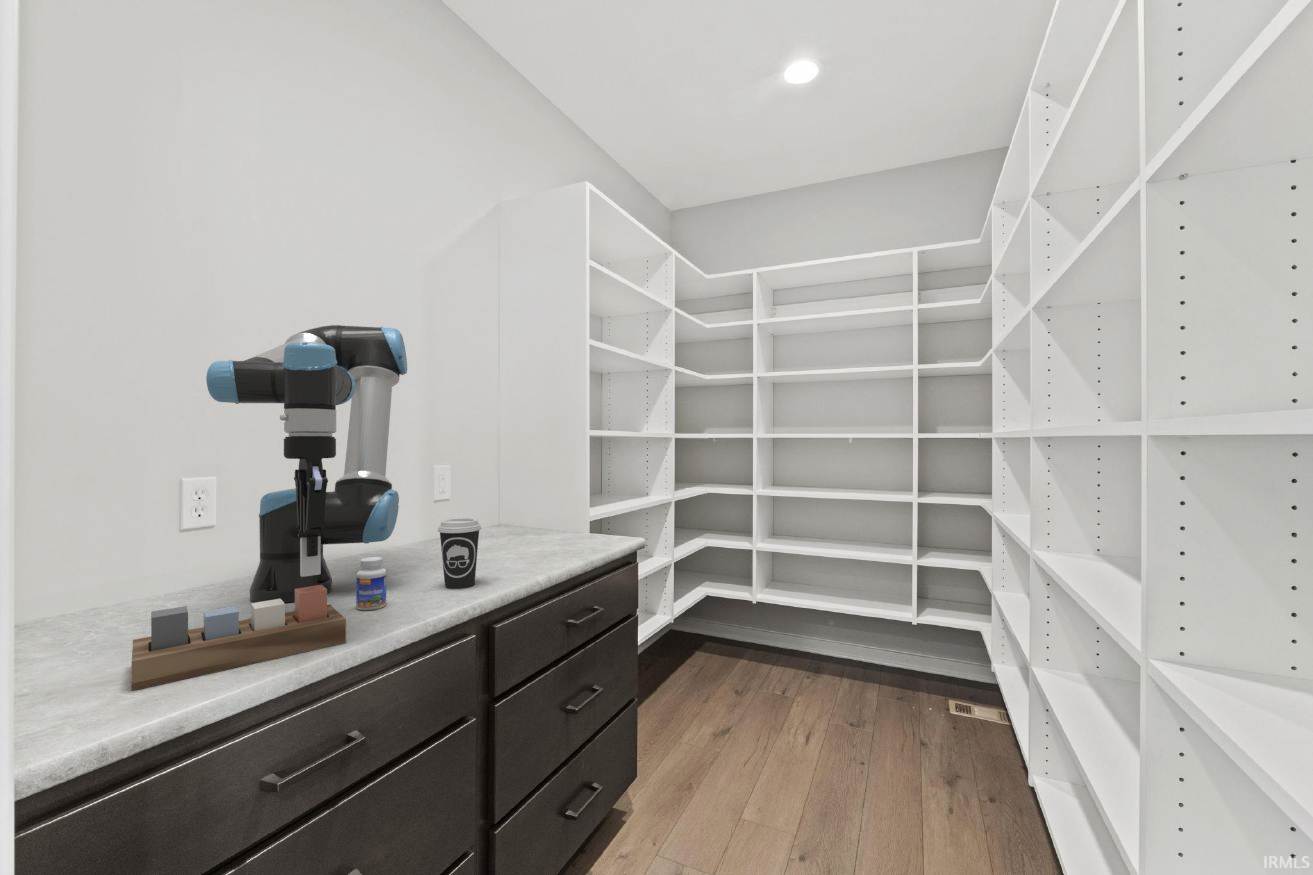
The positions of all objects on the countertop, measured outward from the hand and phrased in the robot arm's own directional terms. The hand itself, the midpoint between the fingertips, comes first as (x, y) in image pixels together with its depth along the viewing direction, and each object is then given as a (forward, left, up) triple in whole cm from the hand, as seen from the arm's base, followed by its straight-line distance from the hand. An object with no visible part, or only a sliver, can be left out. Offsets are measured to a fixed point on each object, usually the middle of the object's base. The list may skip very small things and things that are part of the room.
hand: (310, 574), depth 94 cm
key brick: (0, 0, -8) cm, 8 cm away
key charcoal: (0, -18, -8) cm, 19 cm away
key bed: (0, -9, -11) cm, 14 cm away
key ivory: (0, -6, -9) cm, 11 cm away
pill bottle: (-13, +13, -11) cm, 22 cm away
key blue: (0, -12, -9) cm, 15 cm away
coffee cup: (-17, +33, -11) cm, 39 cm away
